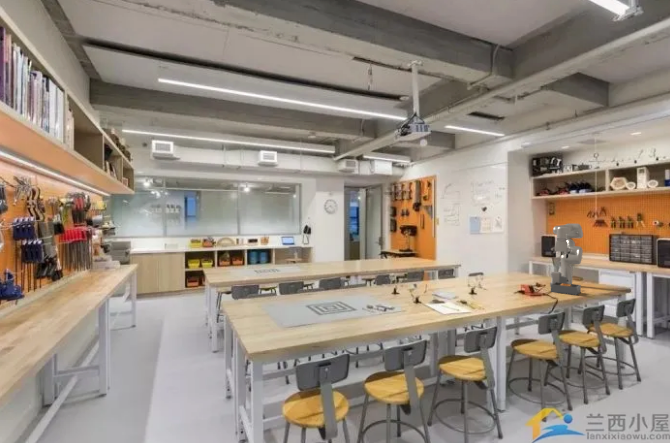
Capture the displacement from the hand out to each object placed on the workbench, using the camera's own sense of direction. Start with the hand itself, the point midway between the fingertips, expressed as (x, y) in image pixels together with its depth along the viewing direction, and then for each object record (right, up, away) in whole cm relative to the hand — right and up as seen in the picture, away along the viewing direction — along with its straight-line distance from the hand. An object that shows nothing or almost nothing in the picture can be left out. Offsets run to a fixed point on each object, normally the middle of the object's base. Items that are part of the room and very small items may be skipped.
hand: (560, 257), depth 334 cm
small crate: (-5, -29, -14) cm, 33 cm away
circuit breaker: (+2, -31, +6) cm, 31 cm away
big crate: (-5, -30, -15) cm, 34 cm away
